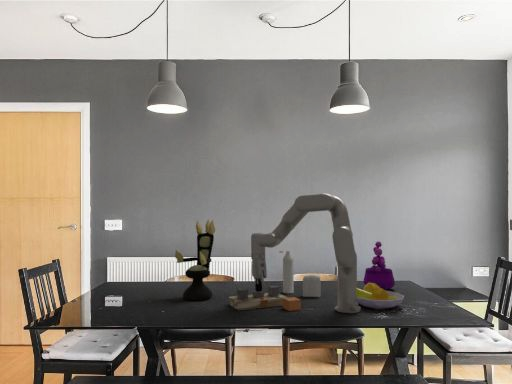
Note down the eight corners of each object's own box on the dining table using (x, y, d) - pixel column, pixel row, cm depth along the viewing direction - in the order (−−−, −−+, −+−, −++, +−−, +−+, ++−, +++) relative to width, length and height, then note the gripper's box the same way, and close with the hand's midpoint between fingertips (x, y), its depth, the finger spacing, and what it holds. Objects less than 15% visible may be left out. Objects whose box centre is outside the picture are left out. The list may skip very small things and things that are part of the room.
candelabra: (173, 299, 226) (174, 219, 228) (197, 292, 246) (197, 218, 247) (201, 303, 217) (201, 219, 219) (223, 295, 237) (223, 218, 238)
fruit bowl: (407, 303, 215) (407, 282, 216) (397, 315, 192) (397, 291, 192) (356, 297, 229) (356, 277, 230) (340, 308, 206) (340, 285, 206)
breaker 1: (248, 300, 209) (248, 289, 209) (240, 301, 207) (240, 290, 207) (244, 298, 213) (244, 288, 213) (237, 299, 211) (237, 289, 211)
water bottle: (294, 291, 246) (294, 250, 247) (292, 293, 239) (292, 251, 240) (280, 290, 248) (280, 250, 249) (278, 293, 242) (278, 251, 243)
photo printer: (320, 295, 234) (320, 274, 234) (321, 297, 230) (320, 275, 230) (302, 295, 235) (302, 274, 235) (302, 297, 231) (302, 275, 231)
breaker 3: (279, 297, 216) (278, 287, 216) (271, 298, 214) (271, 287, 214) (275, 295, 220) (275, 285, 220) (268, 296, 218) (268, 286, 218)
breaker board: (288, 305, 212) (288, 296, 212) (238, 310, 201) (238, 301, 201) (276, 299, 225) (276, 290, 226) (229, 304, 214) (229, 295, 214)
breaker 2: (263, 302, 212) (263, 292, 212) (256, 303, 211) (256, 292, 211) (260, 300, 216) (260, 290, 217) (252, 301, 215) (252, 291, 215)
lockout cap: (300, 309, 203) (300, 299, 203) (289, 311, 200) (289, 300, 200) (294, 306, 209) (294, 297, 209) (283, 308, 206) (283, 298, 206)
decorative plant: (399, 292, 242) (398, 242, 243) (368, 292, 243) (367, 242, 244) (389, 286, 261) (388, 240, 262) (360, 286, 261) (360, 240, 263)
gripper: (270, 257, 209) (271, 293, 208) (259, 254, 223) (259, 288, 222) (257, 258, 206) (258, 294, 205) (246, 255, 220) (246, 289, 219)
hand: (258, 291), depth 214 cm, fingers closed
